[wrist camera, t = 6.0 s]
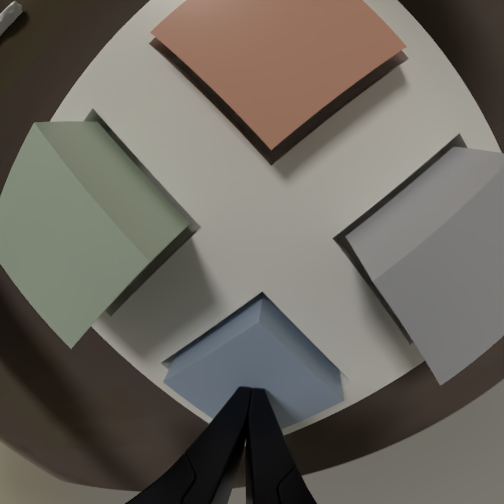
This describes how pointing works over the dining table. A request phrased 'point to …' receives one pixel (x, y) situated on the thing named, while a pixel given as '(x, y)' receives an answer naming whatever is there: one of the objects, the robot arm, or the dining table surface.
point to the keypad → (271, 198)
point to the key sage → (79, 223)
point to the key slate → (256, 365)
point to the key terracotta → (278, 54)
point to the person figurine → (9, 16)
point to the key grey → (443, 258)
